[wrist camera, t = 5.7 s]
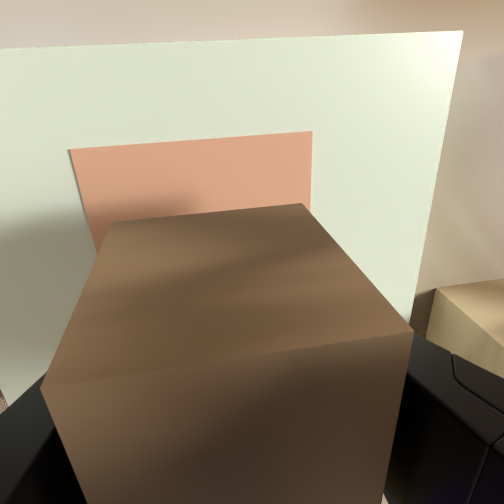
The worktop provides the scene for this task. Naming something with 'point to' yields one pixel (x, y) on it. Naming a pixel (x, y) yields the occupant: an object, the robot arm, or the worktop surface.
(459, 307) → the maple block
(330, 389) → the walnut block
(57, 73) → the plate
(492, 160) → the worktop surface
